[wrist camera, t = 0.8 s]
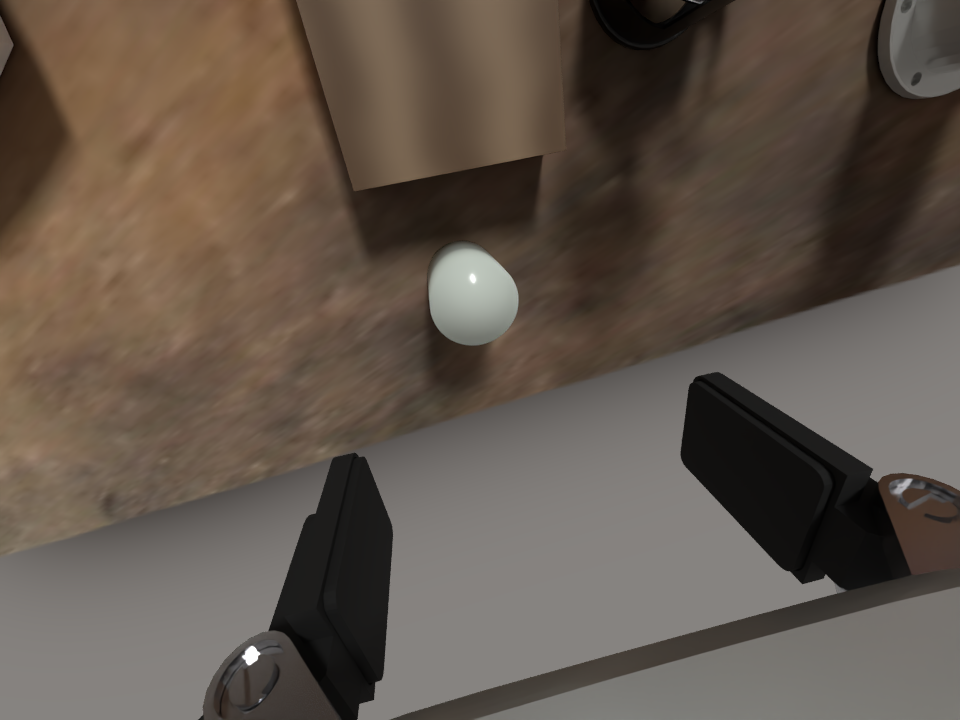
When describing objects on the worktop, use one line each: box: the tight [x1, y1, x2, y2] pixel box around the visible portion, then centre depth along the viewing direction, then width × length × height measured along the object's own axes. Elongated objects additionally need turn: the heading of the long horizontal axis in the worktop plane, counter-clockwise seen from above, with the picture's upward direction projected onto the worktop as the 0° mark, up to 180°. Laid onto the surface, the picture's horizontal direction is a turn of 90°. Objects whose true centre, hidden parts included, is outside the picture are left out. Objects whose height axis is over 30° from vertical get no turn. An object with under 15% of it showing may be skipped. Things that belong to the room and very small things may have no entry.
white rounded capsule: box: [427, 241, 518, 345], centre depth 28 cm, size 6×6×8 cm
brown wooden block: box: [296, 0, 566, 191], centre depth 22 cm, size 14×16×5 cm
